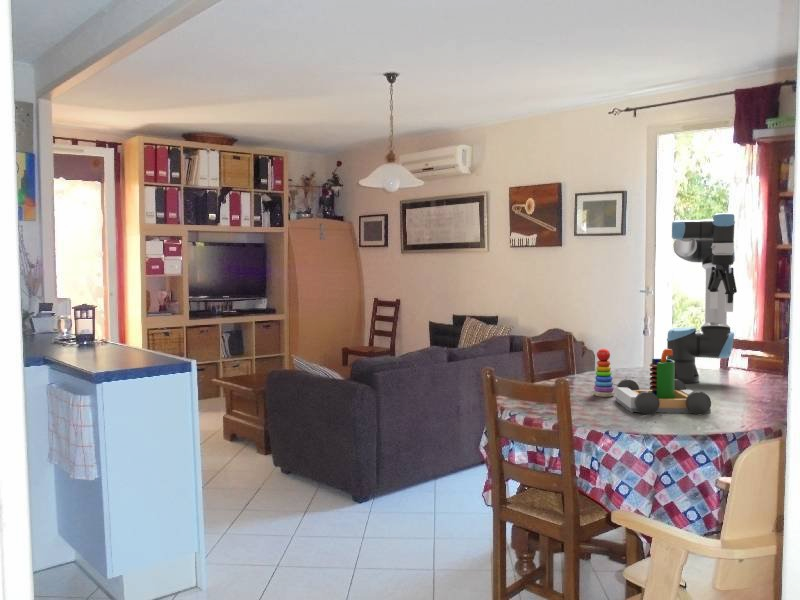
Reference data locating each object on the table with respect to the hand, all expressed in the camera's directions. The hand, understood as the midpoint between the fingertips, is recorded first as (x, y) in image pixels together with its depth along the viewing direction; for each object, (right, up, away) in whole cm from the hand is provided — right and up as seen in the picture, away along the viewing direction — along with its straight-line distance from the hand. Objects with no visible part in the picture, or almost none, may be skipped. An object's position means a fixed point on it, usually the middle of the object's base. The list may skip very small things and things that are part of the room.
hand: (721, 310), depth 273 cm
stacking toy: (-42, -34, +12) cm, 55 cm away
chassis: (-26, -36, -9) cm, 45 cm away
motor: (-26, -34, -9) cm, 44 cm away
